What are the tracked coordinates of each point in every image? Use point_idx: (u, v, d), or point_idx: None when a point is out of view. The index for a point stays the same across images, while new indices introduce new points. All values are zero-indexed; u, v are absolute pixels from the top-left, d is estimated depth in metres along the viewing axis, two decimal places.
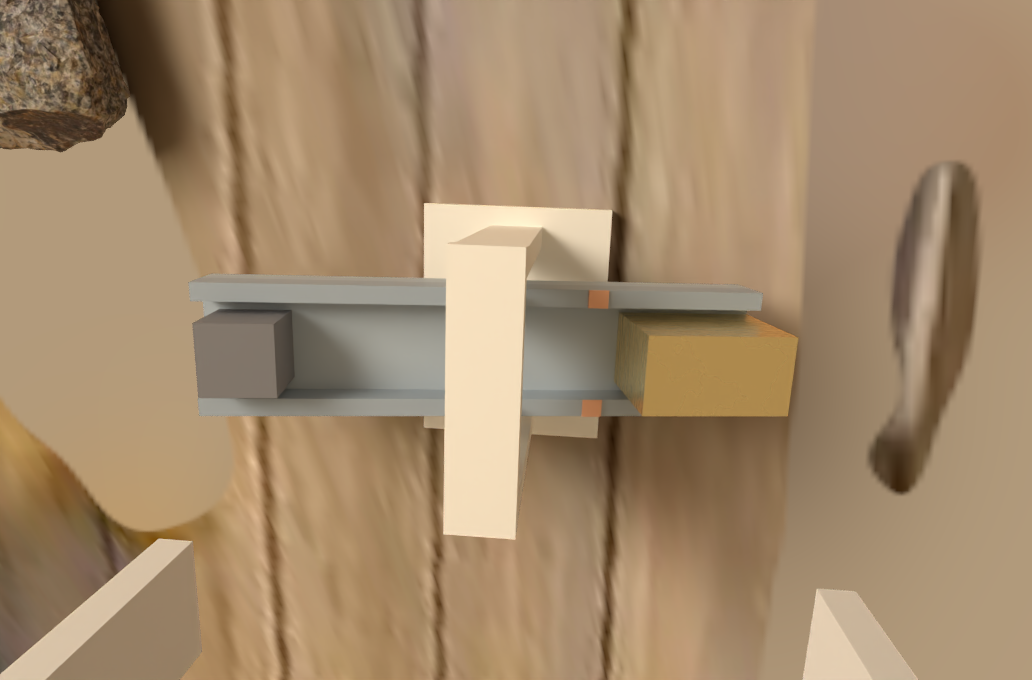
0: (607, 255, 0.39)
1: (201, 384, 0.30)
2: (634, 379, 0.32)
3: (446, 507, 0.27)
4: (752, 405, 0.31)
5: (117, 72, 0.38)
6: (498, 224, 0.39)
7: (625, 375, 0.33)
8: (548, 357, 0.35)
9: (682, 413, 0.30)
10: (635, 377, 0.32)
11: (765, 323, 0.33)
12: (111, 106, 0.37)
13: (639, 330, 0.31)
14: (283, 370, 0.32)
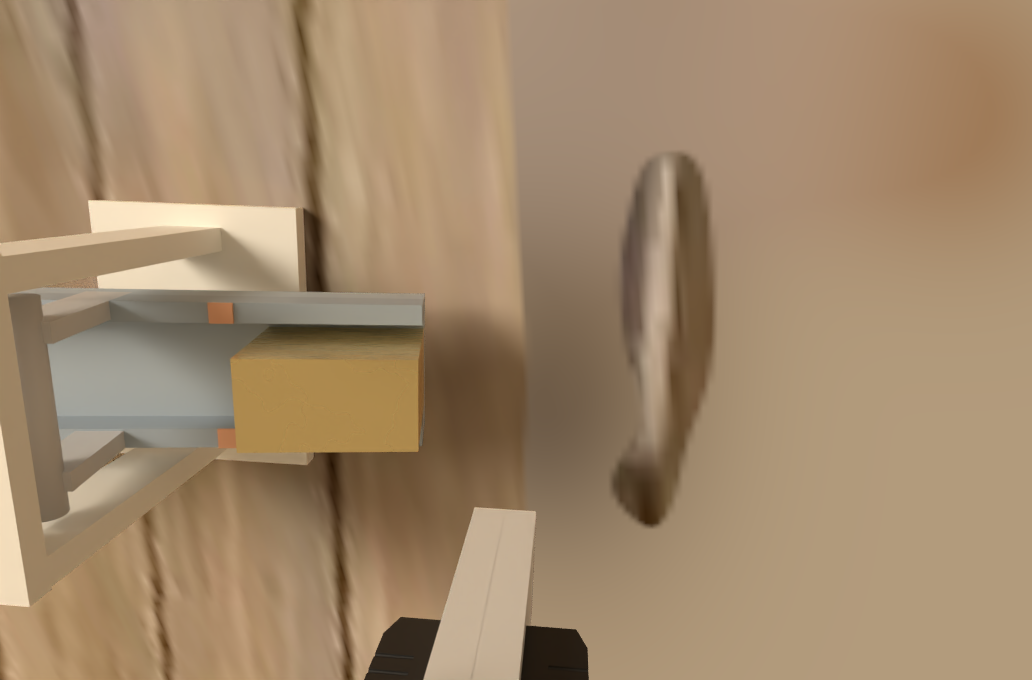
0: (296, 259, 0.34)
1: None
2: None
3: None
4: (372, 439, 0.26)
5: None
6: (172, 224, 0.34)
7: None
8: (190, 378, 0.30)
9: (287, 449, 0.26)
10: None
11: (419, 340, 0.28)
12: None
13: (242, 350, 0.26)
14: None
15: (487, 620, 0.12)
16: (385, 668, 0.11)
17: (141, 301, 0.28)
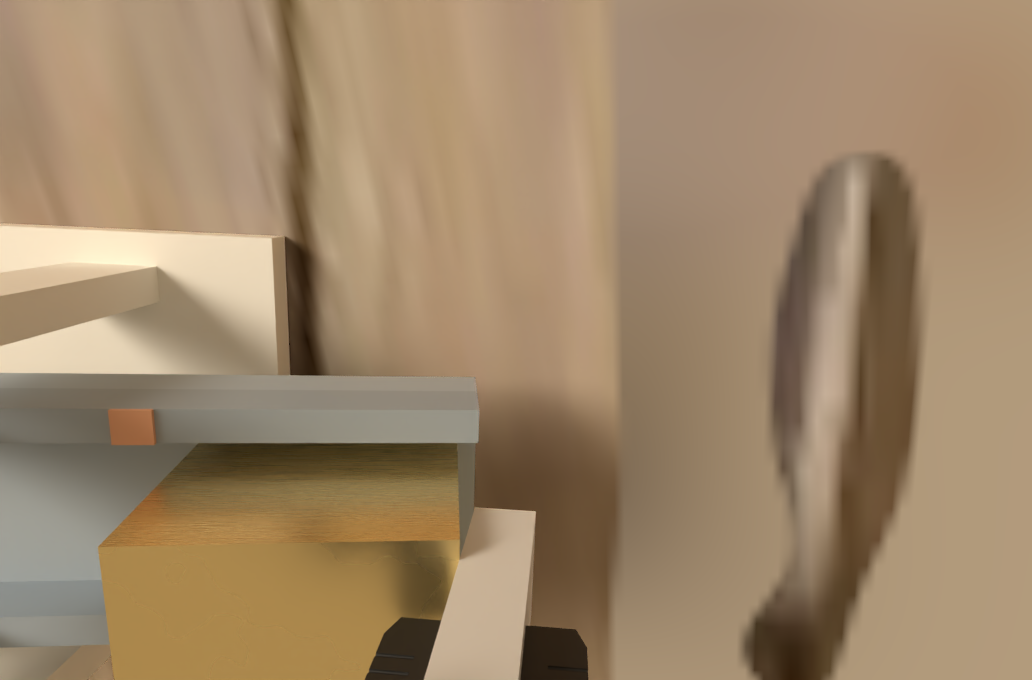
0: (272, 316, 0.22)
1: None
2: None
3: None
4: None
5: None
6: (82, 261, 0.22)
7: None
8: (91, 522, 0.18)
9: None
10: None
11: (454, 475, 0.16)
12: None
13: (134, 512, 0.14)
14: None
15: (488, 620, 0.12)
16: (386, 668, 0.11)
17: None
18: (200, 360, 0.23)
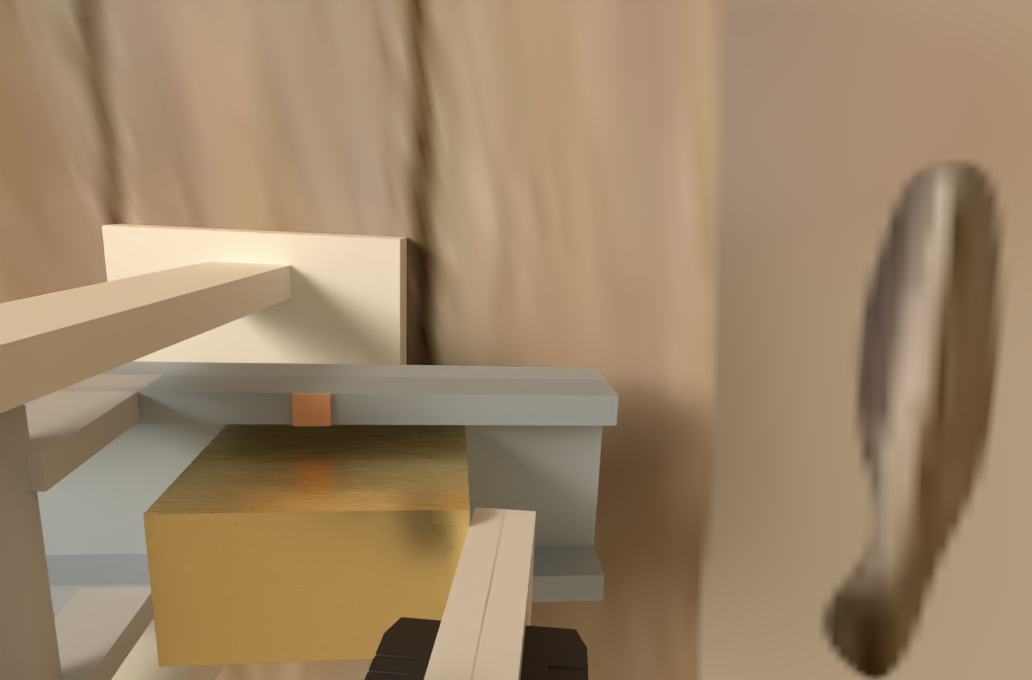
0: (397, 311, 0.24)
1: None
2: None
3: None
4: None
5: None
6: (220, 260, 0.24)
7: None
8: None
9: (245, 657, 0.15)
10: None
11: (463, 454, 0.18)
12: None
13: (172, 486, 0.16)
14: None
15: (487, 620, 0.12)
16: (385, 668, 0.11)
17: (188, 392, 0.18)
18: (327, 352, 0.24)
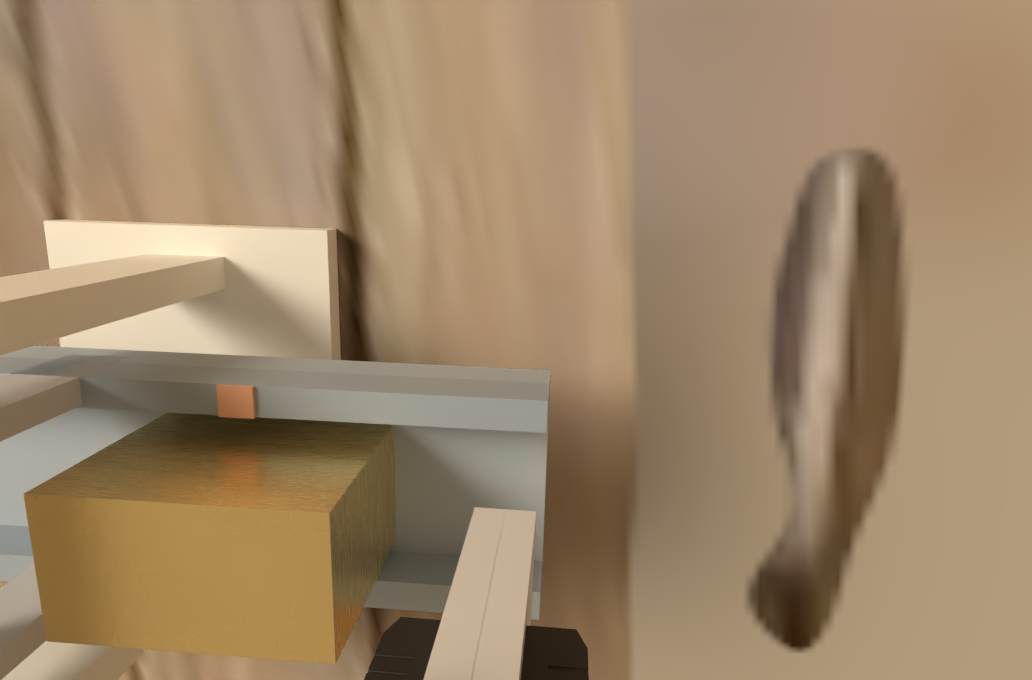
0: (327, 300, 0.25)
1: None
2: None
3: None
4: (258, 638, 0.15)
5: None
6: (157, 252, 0.25)
7: None
8: None
9: (123, 641, 0.15)
10: None
11: (366, 456, 0.17)
12: None
13: (72, 469, 0.16)
14: None
15: (487, 620, 0.12)
16: (385, 668, 0.11)
17: (124, 379, 0.18)
18: (262, 340, 0.25)
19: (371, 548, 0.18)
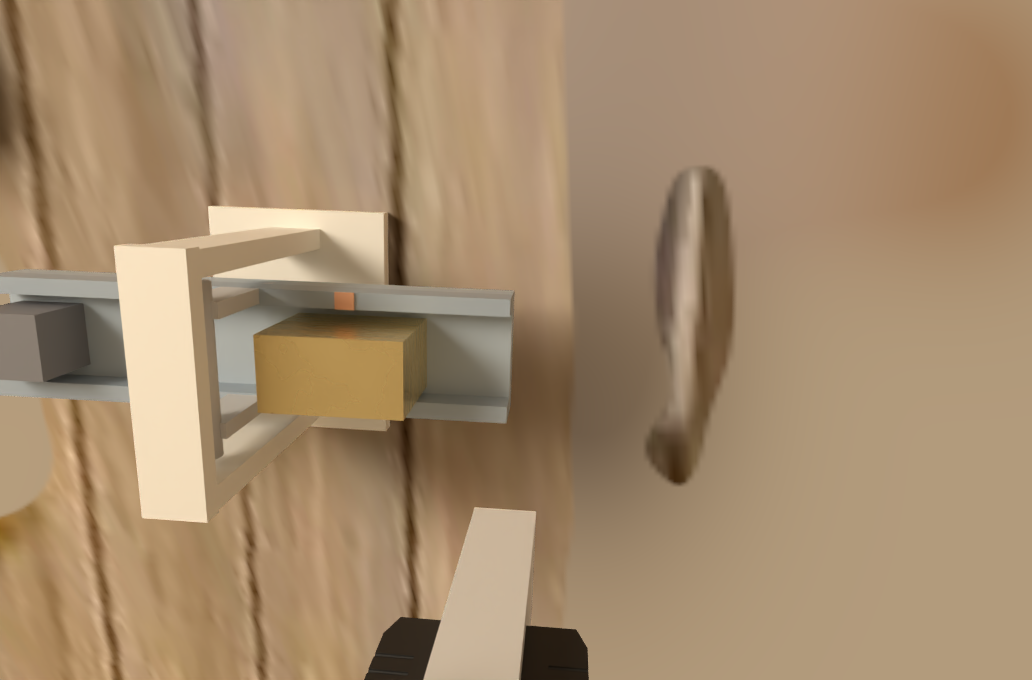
0: (382, 256, 0.41)
1: None
2: None
3: (142, 492, 0.29)
4: (365, 407, 0.31)
5: None
6: (278, 226, 0.41)
7: None
8: None
9: (296, 412, 0.31)
10: None
11: (415, 327, 0.33)
12: None
13: (267, 329, 0.32)
14: (60, 357, 0.35)
15: (487, 620, 0.12)
16: (385, 668, 0.11)
17: (283, 289, 0.34)
18: (341, 281, 0.41)
19: (416, 378, 0.34)
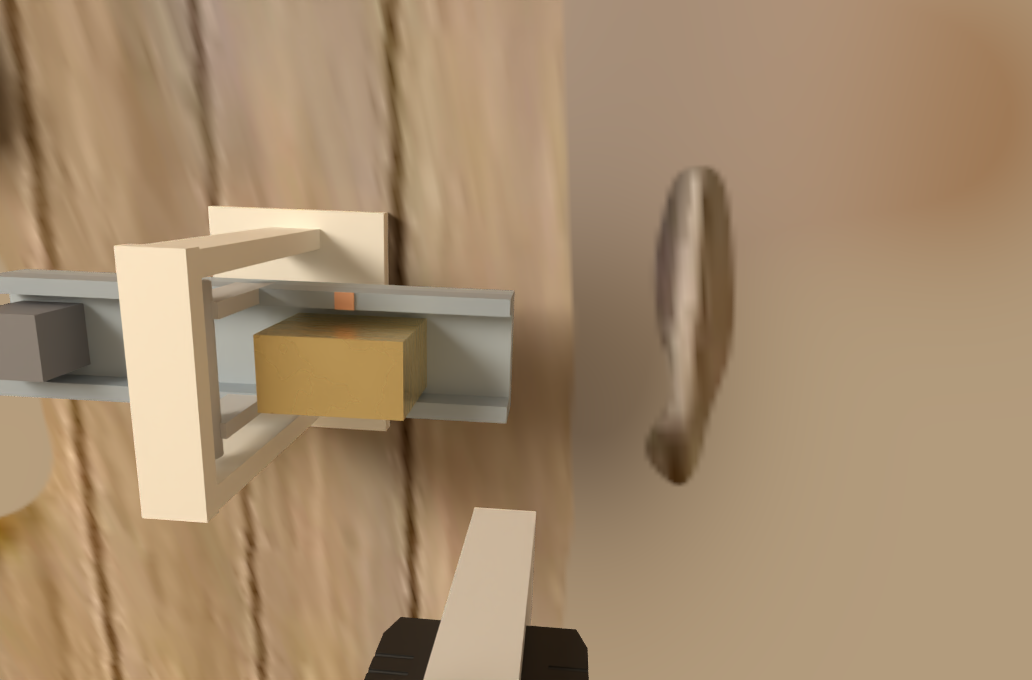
0: (382, 256, 0.41)
1: None
2: None
3: (142, 492, 0.29)
4: (365, 407, 0.31)
5: None
6: (278, 226, 0.41)
7: None
8: None
9: (296, 412, 0.31)
10: None
11: (415, 327, 0.33)
12: None
13: (267, 329, 0.32)
14: (60, 357, 0.35)
15: (487, 620, 0.12)
16: (385, 668, 0.11)
17: (283, 289, 0.34)
18: (341, 281, 0.41)
19: (416, 378, 0.34)
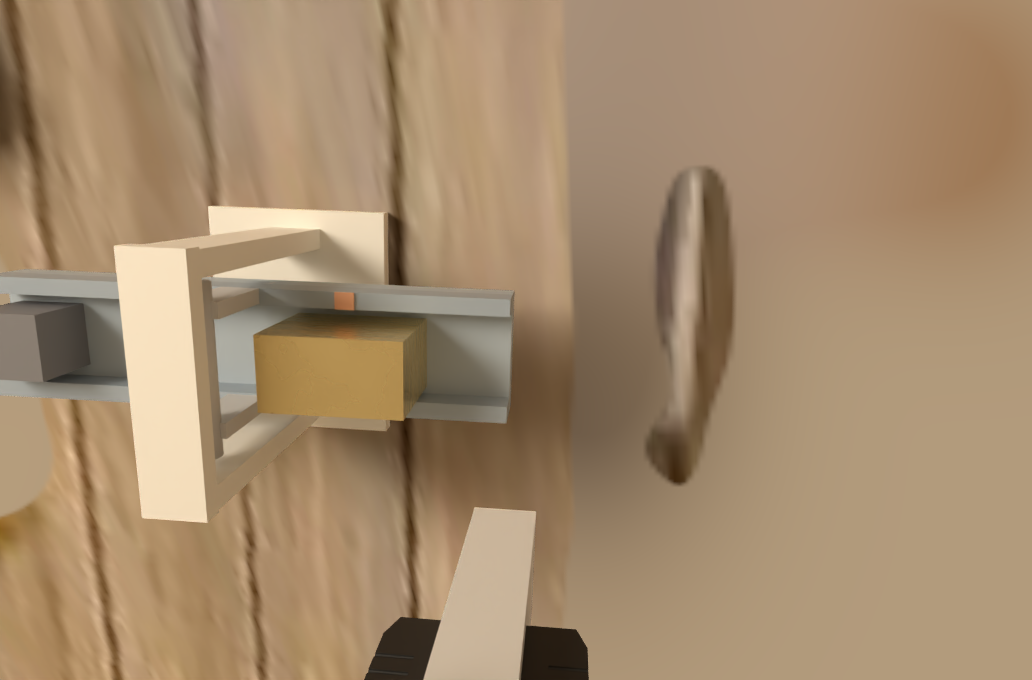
0: (382, 256, 0.41)
1: None
2: None
3: (142, 492, 0.29)
4: (365, 407, 0.31)
5: None
6: (278, 226, 0.41)
7: None
8: None
9: (296, 412, 0.31)
10: None
11: (415, 327, 0.33)
12: None
13: (267, 329, 0.32)
14: (60, 357, 0.35)
15: (487, 620, 0.12)
16: (385, 668, 0.11)
17: (283, 289, 0.34)
18: (341, 281, 0.41)
19: (416, 378, 0.34)
